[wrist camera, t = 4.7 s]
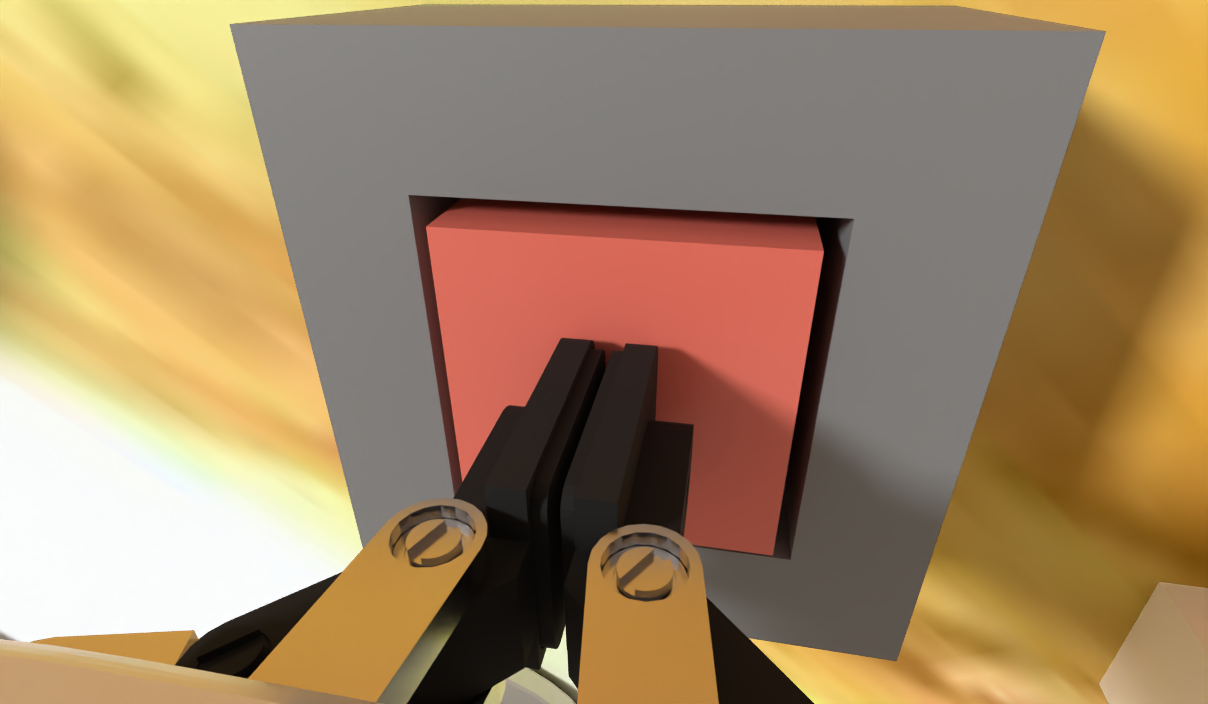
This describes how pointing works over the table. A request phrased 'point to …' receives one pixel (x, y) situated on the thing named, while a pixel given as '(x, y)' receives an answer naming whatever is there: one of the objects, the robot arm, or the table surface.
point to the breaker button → (640, 330)
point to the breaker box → (689, 182)
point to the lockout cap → (1164, 651)
